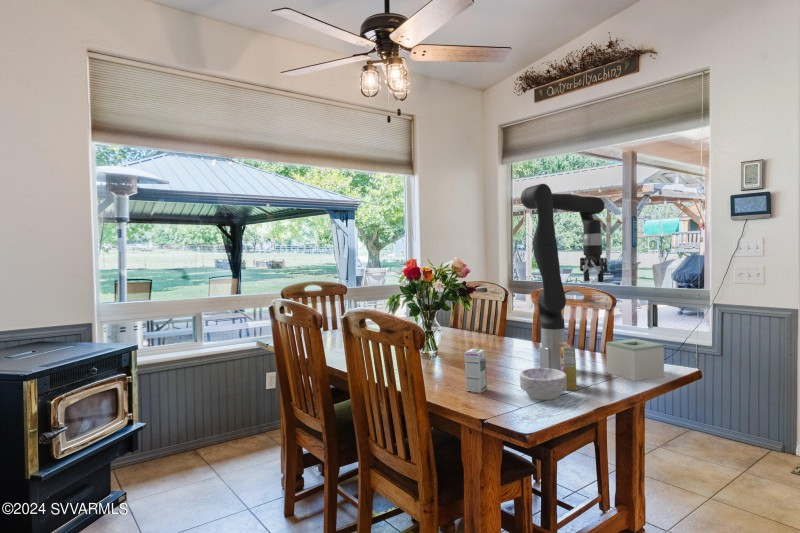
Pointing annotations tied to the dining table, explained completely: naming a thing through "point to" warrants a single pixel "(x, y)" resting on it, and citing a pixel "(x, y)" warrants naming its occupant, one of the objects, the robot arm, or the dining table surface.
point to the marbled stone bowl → (543, 383)
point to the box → (635, 359)
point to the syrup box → (475, 370)
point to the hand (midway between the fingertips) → (593, 281)
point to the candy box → (568, 364)
